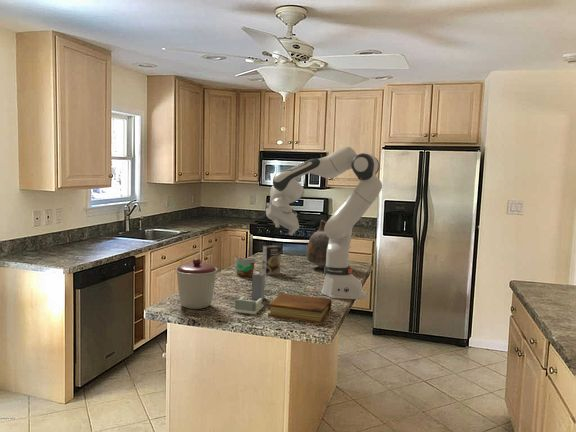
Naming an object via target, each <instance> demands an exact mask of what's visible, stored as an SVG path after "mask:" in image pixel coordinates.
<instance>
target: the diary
mask: <svg viewBox="0 0 576 432" xmlns="http://www.w3.org/2000/svg"><path fill="white" fill-rule="evenodd" d="M268 306H269V307H270V310H269V311H270V312H269V313H268V314H267V315H268V317H272V318H273V317H274V318H281V319H289V320H290V319H291V320H297V321H304V322H310V323H311V322H312V323H318V324H322V323H323V322H324V321H325V319H326V318H327V316H328V315H329V313H330V312H331V311H332V298H323V297H316V296H306V295H298V294H292V293H290V294H289V293H280V294H279V295H277V296H276V297H275V298H274V299H273V300H272V301H270V302H269V303H268Z"/></svg>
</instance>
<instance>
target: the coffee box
mask: <svg viewBox="0 0 576 432" xmlns="http://www.w3.org/2000/svg"><path fill="white" fill-rule="evenodd" d="M281 258H282V246H280V245H277V244H276V245H273V244H272V245H271V244H270V245H262V261H261V262H262V263H261V264H262V265H261V273H265V276H271V275H280V274H281V261H282V259H281Z"/></svg>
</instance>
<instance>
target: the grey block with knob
mask: <svg viewBox="0 0 576 432" xmlns="http://www.w3.org/2000/svg"><path fill="white" fill-rule="evenodd" d="M265 281H266V275H265V273H262V272H258V271H256V272H253V275H252V276H251V300H252V301H257V300H258V299H259V298H262V301H263V300H265V287H266V286H265V285H266V283H265Z"/></svg>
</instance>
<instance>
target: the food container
mask: <svg viewBox="0 0 576 432" xmlns="http://www.w3.org/2000/svg"><path fill="white" fill-rule="evenodd" d="M234 262H235V264H236V265H235V266H236V276H238V277H241V276H242V278H245V277H247V278H248V277H252V275H253V274H254V269H255V263H256V259H255V258H251V259H250V258H245V257H244V258H240V257H238V256H236V257H235V259H234Z"/></svg>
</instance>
